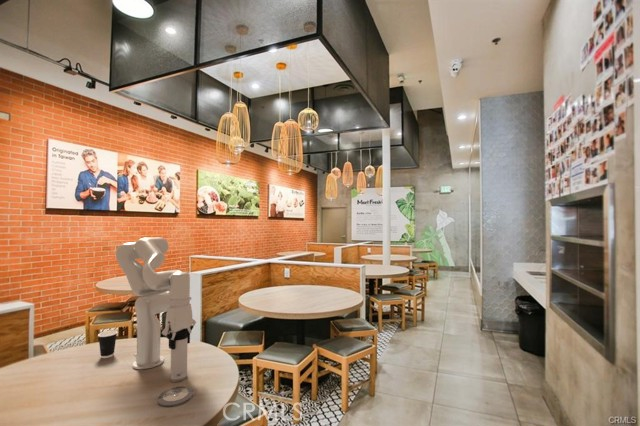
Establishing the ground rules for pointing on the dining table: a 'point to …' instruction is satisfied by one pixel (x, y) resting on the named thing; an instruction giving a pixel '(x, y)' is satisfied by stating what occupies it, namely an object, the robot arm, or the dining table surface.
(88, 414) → the dining table surface
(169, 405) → the gray rimmed disc
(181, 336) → the travel mug
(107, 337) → the dixie cup
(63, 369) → the dining table surface
